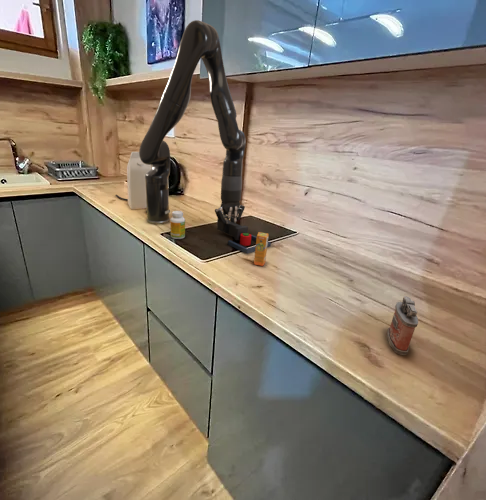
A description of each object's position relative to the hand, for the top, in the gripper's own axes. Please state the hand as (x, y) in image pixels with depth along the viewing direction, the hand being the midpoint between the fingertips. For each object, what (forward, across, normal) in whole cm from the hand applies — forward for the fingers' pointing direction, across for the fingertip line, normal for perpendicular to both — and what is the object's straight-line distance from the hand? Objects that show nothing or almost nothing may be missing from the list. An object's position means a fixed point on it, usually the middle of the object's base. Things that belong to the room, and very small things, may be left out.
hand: (228, 231), depth 118 cm
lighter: (+2, +11, +68) cm, 69 cm away
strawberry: (+2, 0, +10) cm, 10 cm away
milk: (+2, +9, -58) cm, 59 cm away
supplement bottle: (+2, +17, -10) cm, 20 cm away
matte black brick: (+1, 0, +1) cm, 1 cm away
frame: (+2, 0, +11) cm, 11 cm away
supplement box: (+1, +8, +25) cm, 26 cm away
